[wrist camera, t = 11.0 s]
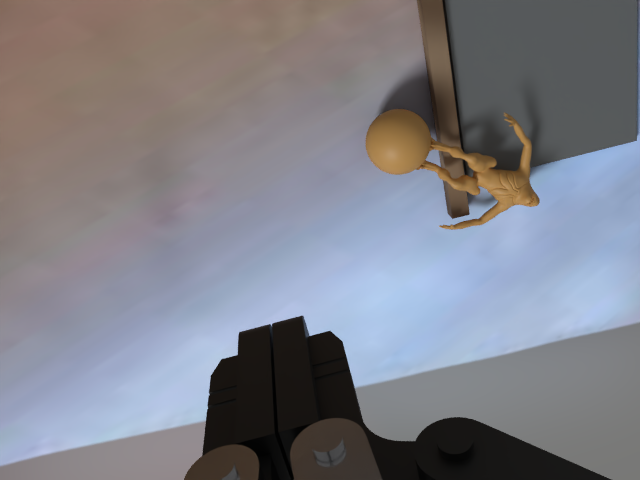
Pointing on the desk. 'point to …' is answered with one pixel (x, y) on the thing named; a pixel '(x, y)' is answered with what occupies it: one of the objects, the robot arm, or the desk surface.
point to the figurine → (415, 143)
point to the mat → (543, 76)
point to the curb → (442, 98)
